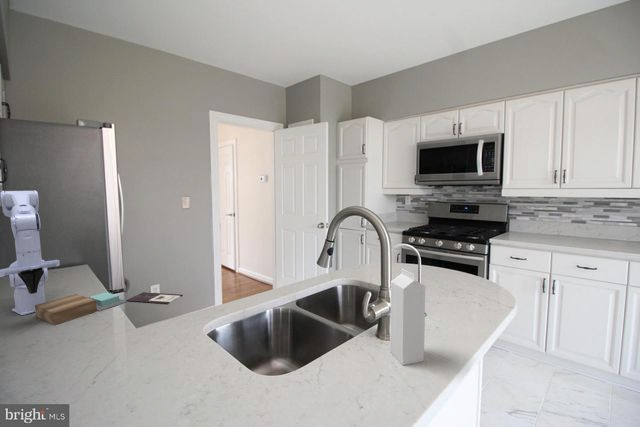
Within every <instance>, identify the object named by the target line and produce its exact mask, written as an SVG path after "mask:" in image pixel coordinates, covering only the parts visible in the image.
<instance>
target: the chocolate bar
mask: <svg viewBox="0 0 640 427" xmlns="http://www.w3.org/2000/svg"><path fill="white" fill-rule="evenodd" d="M181 297H183V294H177V293H175V294H174V293H161V292H145V291H144V292H141V293H139V294H136V295H135V296H132V297H130V298H127V299H126V300H125V301H128V302H127V303H139V304H153V305H170V304H171V303H173V302H175V301H176V300H178V299H180V298H181Z"/></svg>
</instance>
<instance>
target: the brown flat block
mask: <svg viewBox="0 0 640 427" xmlns="http://www.w3.org/2000/svg"><path fill="white" fill-rule="evenodd" d="M96 312H98V311H97V304H96V300H94V299H91V298H89V297H87V296H84V295H82V294H79V293H75V294H72V295H71V294H70V295H67V296H64V297H61V298H57V299H53V300H50V301H45V303H41V304H37V305H35V312H34V313H35V317H36V318H38V319H40V320H43V321H45V322H47V323H50V324H52V325H53V326H57V325H59V324H60V325H61V324H63V323H66V322H69V321H71V320H75V319H78V318H81V317H84V316H86V315H87V316H88V315H90V314H93V313H96Z"/></svg>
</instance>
